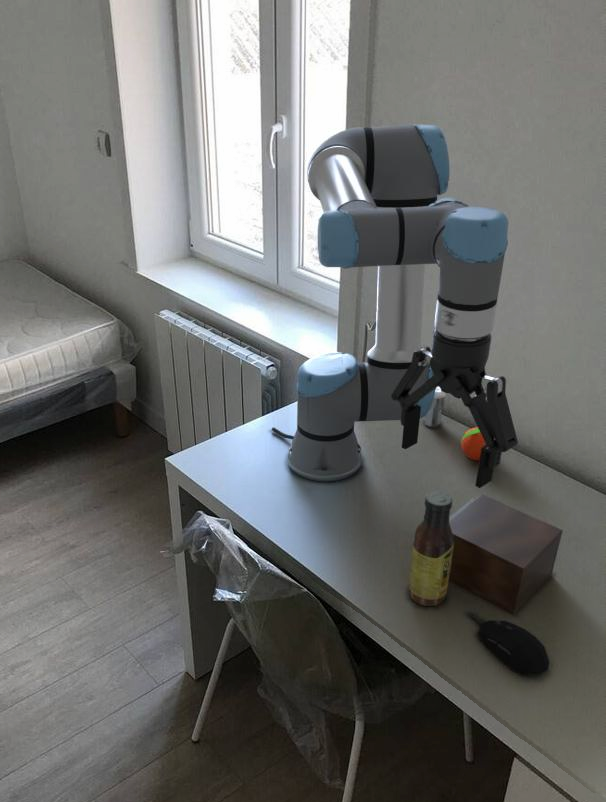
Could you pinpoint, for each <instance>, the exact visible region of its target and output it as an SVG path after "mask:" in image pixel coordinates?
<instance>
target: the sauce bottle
mask: <svg viewBox="0 0 606 802" xmlns="http://www.w3.org/2000/svg"><path fill="white" fill-rule="evenodd" d="M424 506H425V508H424V516H423V520H422V521H421V522H420V523H419V524H418V525H417V527H416V528H415V531H414V532H415V533H414V541H413V544H412V551H411V562H410V571H409V580H408V588H409V589H408V593H409V597H410V598H411V599H412V601H414V603H417V604H419V605H420V606H425V607H435V606H438V605H440V604H442V602H443V601H444V600H445V599H446V595H447V593H448V589H449V581H450V580H449V575H450V568H451V561H452V554H453V547H454V537H453V534H452V531H451V527H450V524H449V517H450V514H451V509H452V507H453V498H452V496H451V495H450V494H449V493H446V492H444V491H441V490H435V491H430V492H428V493H427V494H426V495H425V499H424Z"/></svg>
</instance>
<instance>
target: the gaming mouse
mask: <svg viewBox="0 0 606 802" xmlns="http://www.w3.org/2000/svg"><path fill="white" fill-rule="evenodd" d="M469 616H470V617H471V618H473V619H474V620H475V621H476V622H477V623H478V624H479V625H480V626H479V629H478V632H477V633H478V634H477V635H478V637H479V639H480V642H482V643H483V644H484V645H485V646H486V648H487V649H489V651H491V652H492V653H493V654H494V655H495V656H496V657H497V658H498V659H499V660H500V661H501V662H502V663H503V664H504V665H506V666H507V667H508V668H509V669H510V670H512V671H514V672H516V673H517V674H519V675H521V676H540V675H542V674H544V673H545V672H547V671H548V670H549V667H550V659H549V656H548V653H547V649H546V647H545V646H544V644H543V643H542V642H541V641H540V640H539V639H538V638H537V636H535V635H534V634H533V633H531V632H530V631H529V630H527V629H525V628H524V627H521V626H519V625H517V624H515V623H513V622H510V621H507V620H500V619H499V620H497V619H496V620H492V619H491V620H486V621H483V620H482V619H481V618H478V617H477V616H476V615H474V614H473V613H470V614H469Z"/></svg>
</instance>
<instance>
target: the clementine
mask: <svg viewBox="0 0 606 802" xmlns="http://www.w3.org/2000/svg"><path fill="white" fill-rule="evenodd" d="M494 439H495V438H494ZM459 444H461V449H462V452H463V453H464V455H465V456H466V457H468V458H469V459H471V460H473V461H479V460H480V454H481V448H482V447H483V446H485V445H486V443H485V441H484V439H483V437H482V435H481V433H480V430H479V428H478V426H475V427H472V428H470V429H468V430H467V431H466V432H465V433H464V434H463V436H462V438H461V439H460V442H459Z"/></svg>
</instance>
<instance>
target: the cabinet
mask: <svg viewBox="0 0 606 802" xmlns="http://www.w3.org/2000/svg"><path fill="white" fill-rule="evenodd" d="M449 524H450V527H451V531H452V534H453V537H454V547H453V554H452V561H451V568H450V575H449V581H451V582H453V583H455V584H457V585H459V586H460V587H462V588H464V589H466V590H468V591H470V592H471V593H474V594H475V595H477V596H479V597H481V598H482V599H484V600H486V601H488V602H490V603H492V604H494V605H496V606H498V607H500V608H502V609H503V610H505V611H507V612H509V613H511V614H515V613H516V612H517V611H518V610H519V609H520V608H521V607H522V606H523V605H524V604H525V603H526V602H527V601H528V600H529V598H530V597H531V596H533V594H535V593H536V591H538V589H539V588H540V587H541V586H542V585H543V584H544V583H545V582H546V581H547V580H548V579H549V578H550V577H551V576H552V574H553V570H554V566H555V563H556V559H557V555H558V551H559V547H560V543H561V539H562V535H563V529H561V528H558V527H557V526H554V525H552V524H550V523H547V522H545V521H543V520H541V519H538V518H536V517H534V516H532V515H529V514H527V513H525V512H523V511H520V510H519V509H516V508H514V507H512V506H509V505H507V504H505V503H503V502H500V501H498V500H497V499H494V498H491V497H489V496H487V495H485V494H481V495H480V496H478V497H477V498H476V500H475V501H474V502H472V503H471V504H470V505H469V506H468V507H466V508H465V509H464V510H463V511H462V512H460V513H459V514H458V515H457V516H455V517H454V518H453V519H452V520H451V521H449Z"/></svg>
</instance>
